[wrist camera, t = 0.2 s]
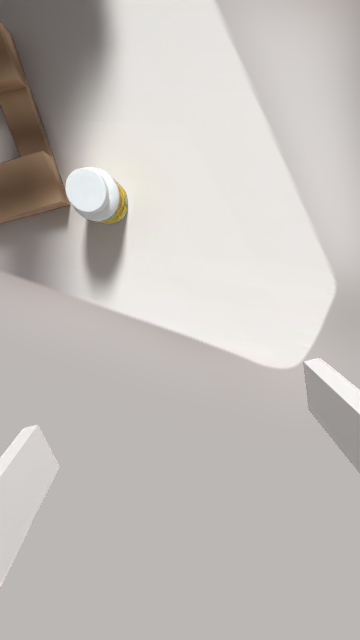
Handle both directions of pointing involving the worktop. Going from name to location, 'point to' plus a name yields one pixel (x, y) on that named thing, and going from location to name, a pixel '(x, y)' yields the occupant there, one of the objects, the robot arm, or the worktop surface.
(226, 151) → the worktop surface
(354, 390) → the robot arm
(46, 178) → the frame
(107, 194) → the supplement bottle
